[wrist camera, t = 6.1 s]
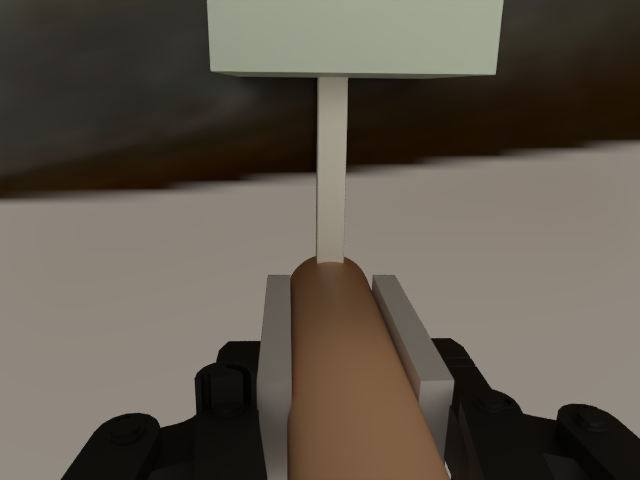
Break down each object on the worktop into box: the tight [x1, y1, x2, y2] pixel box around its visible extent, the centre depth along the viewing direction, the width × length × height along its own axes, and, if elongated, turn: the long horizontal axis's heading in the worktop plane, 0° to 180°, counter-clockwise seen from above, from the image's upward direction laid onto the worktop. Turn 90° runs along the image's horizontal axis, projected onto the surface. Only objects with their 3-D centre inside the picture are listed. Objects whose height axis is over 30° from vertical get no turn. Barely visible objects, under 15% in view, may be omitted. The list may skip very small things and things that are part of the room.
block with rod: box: [207, 0, 503, 480], centre depth 11 cm, size 6×15×11 cm, turn 179°
